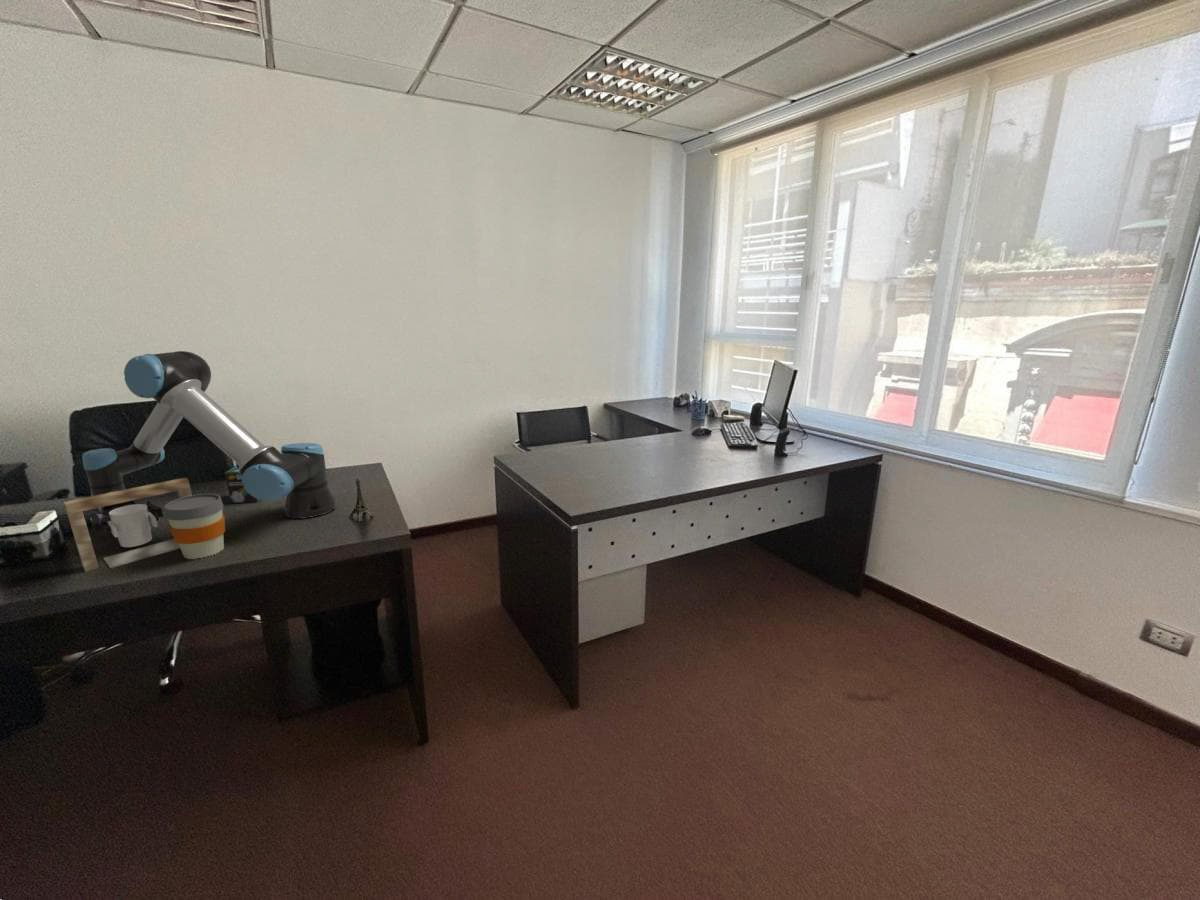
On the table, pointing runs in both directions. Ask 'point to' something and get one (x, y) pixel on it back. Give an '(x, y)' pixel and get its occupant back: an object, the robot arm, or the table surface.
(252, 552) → the table surface
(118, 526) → the white cup
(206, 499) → the reusable coffee cup
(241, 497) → the chalk box
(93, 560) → the bridge
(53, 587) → the table surface
